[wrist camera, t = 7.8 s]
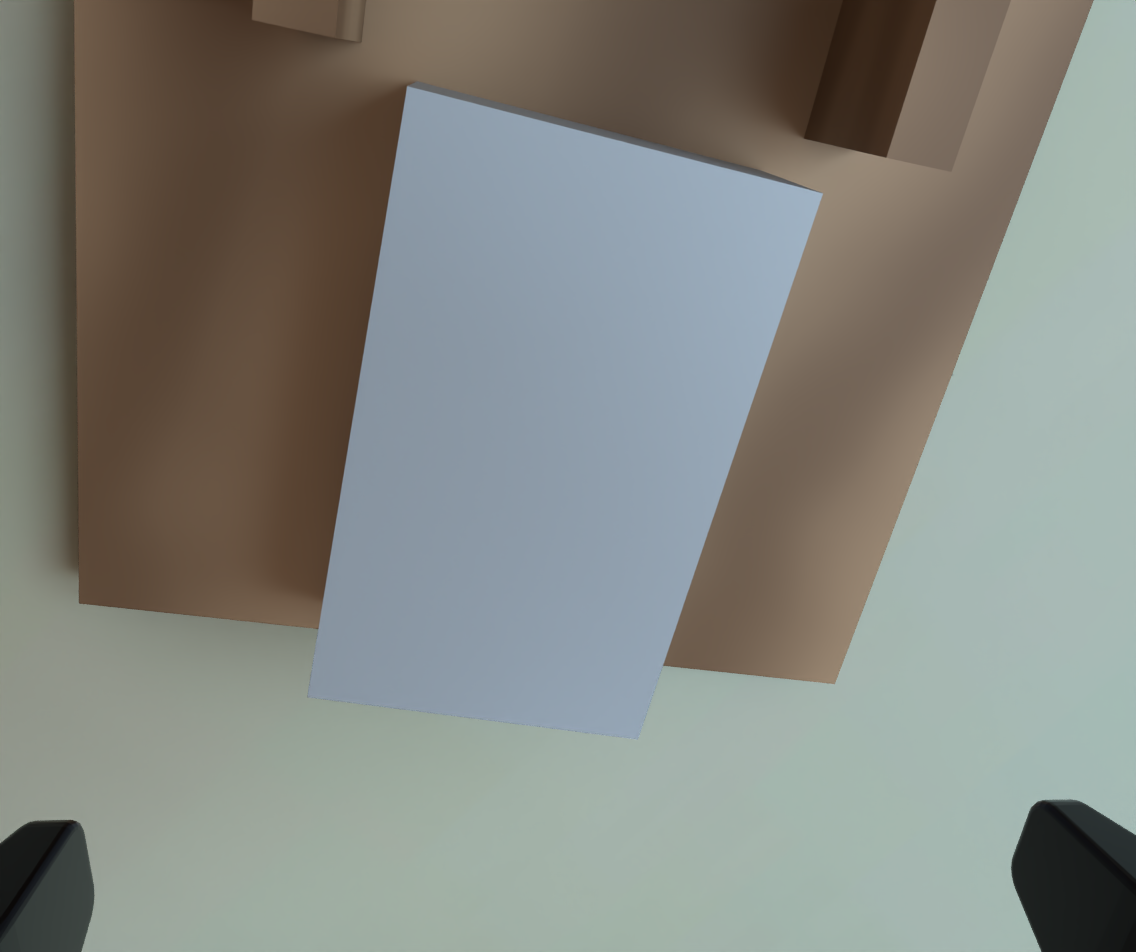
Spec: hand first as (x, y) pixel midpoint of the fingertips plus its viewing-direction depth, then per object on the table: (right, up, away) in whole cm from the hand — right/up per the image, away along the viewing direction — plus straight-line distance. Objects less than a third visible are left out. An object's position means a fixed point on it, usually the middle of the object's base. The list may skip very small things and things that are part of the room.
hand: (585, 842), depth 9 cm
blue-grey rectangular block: (-1, +5, +9) cm, 10 cm away
